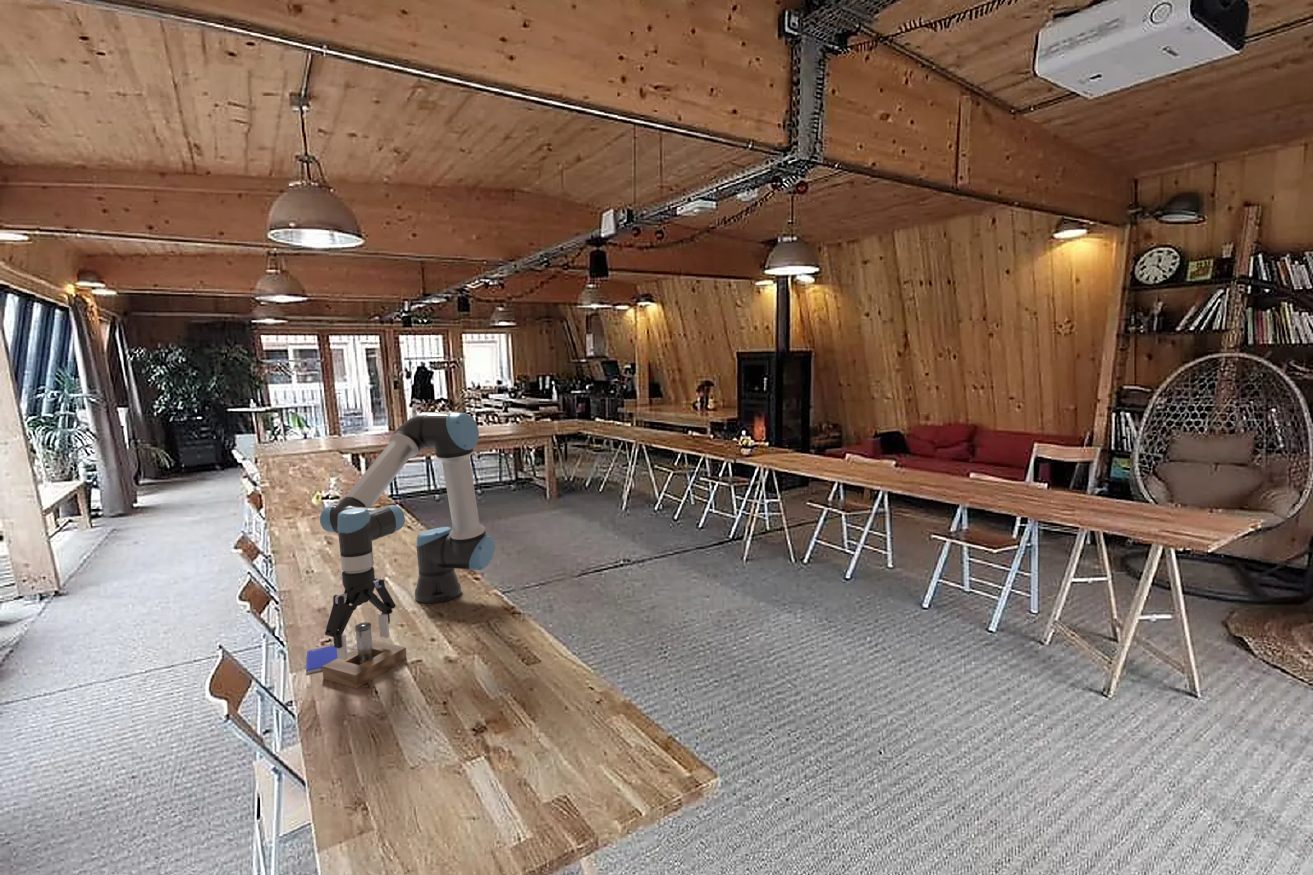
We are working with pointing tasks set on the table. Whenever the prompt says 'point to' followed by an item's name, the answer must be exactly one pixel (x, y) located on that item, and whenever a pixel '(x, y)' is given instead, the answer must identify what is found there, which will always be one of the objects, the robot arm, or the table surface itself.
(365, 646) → the pin
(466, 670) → the table surface
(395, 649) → the slot block
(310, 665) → the hard drive
